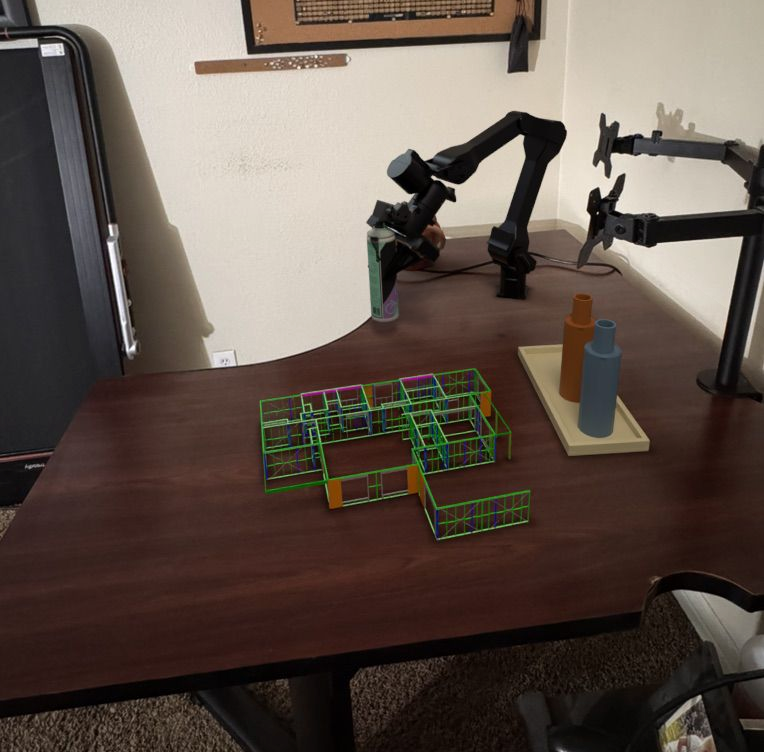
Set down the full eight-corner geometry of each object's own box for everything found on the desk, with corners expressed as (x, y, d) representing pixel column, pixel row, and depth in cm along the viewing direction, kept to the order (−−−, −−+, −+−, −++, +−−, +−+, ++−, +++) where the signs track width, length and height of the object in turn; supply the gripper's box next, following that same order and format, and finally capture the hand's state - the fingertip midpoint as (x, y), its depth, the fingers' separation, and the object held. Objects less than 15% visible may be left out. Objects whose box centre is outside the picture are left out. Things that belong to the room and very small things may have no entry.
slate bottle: (577, 418, 97) (586, 314, 91) (612, 423, 96) (623, 317, 90) (577, 438, 93) (586, 329, 87) (613, 443, 91) (625, 333, 85)
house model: (473, 390, 106) (473, 365, 104) (554, 516, 79) (556, 485, 77) (262, 423, 99) (259, 397, 98) (272, 573, 72) (268, 541, 70)
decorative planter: (463, 267, 157) (464, 214, 152) (431, 282, 149) (430, 226, 144) (405, 250, 170) (404, 200, 166) (373, 262, 163) (370, 211, 158)
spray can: (398, 321, 122) (393, 224, 115) (370, 322, 123) (364, 225, 116) (399, 309, 127) (395, 215, 120) (372, 309, 128) (367, 216, 121)
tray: (517, 355, 116) (518, 346, 115) (579, 351, 116) (580, 343, 116) (568, 456, 89) (569, 445, 89) (648, 451, 90) (650, 440, 89)
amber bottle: (559, 386, 106) (566, 289, 99) (590, 390, 104) (600, 291, 98) (558, 403, 101) (565, 302, 95) (590, 407, 100) (600, 305, 94)
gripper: (372, 174, 125) (326, 238, 124) (425, 194, 110) (373, 267, 109) (406, 205, 132) (363, 266, 130) (461, 227, 117) (413, 296, 115)
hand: (376, 273), depth 121 cm, fingers closed on spray can, 5 cm apart
